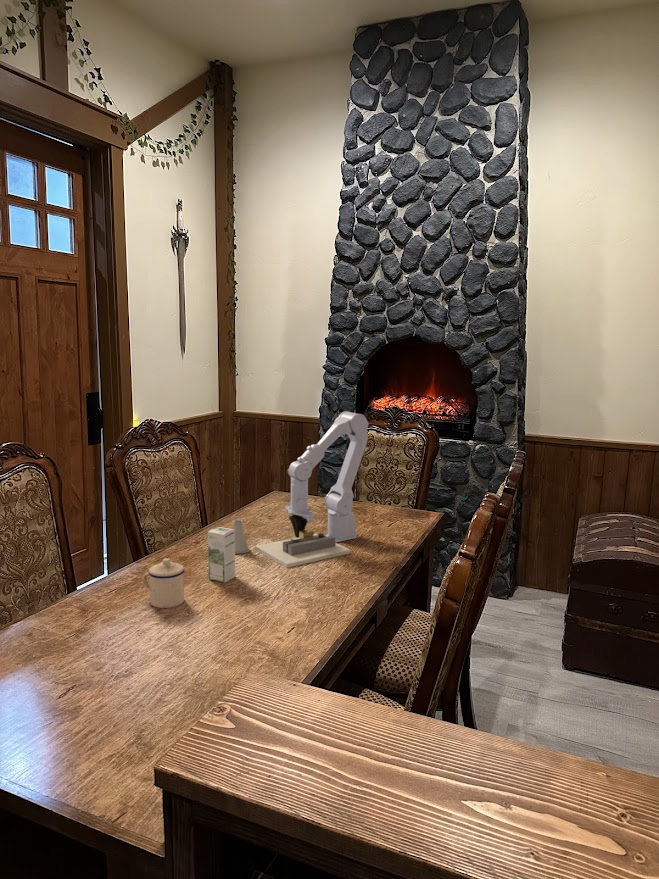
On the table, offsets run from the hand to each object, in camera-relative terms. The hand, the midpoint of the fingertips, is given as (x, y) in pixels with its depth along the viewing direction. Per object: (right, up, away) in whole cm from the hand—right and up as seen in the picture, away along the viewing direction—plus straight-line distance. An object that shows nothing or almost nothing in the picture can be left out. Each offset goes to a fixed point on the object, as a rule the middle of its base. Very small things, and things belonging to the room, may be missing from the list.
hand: (299, 536), depth 215 cm
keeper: (+3, -2, -3) cm, 5 cm away
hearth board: (+1, -4, -7) cm, 8 cm away
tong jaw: (+2, -3, -7) cm, 8 cm away
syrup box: (-21, -8, -31) cm, 38 cm away
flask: (-19, -4, -7) cm, 21 cm away
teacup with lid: (-34, -10, -47) cm, 58 cm away
